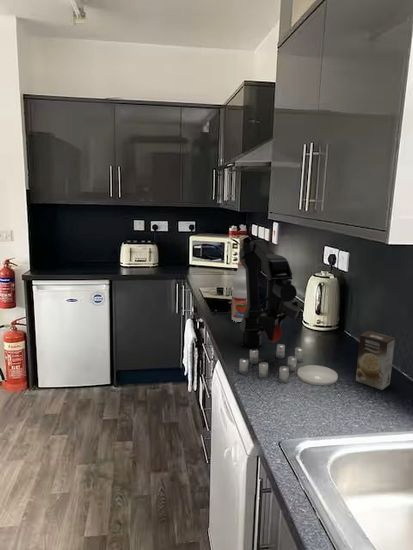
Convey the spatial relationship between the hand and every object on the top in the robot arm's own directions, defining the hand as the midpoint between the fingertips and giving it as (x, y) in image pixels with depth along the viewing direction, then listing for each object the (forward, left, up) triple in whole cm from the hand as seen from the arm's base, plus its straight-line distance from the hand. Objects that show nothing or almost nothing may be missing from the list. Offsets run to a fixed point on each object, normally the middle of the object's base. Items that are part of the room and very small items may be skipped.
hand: (273, 337), depth 146 cm
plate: (+16, -1, -11) cm, 19 cm away
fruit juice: (-30, +44, -11) cm, 54 cm away
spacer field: (0, 0, -11) cm, 11 cm away
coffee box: (+33, +3, -11) cm, 35 cm away
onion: (0, 0, -2) cm, 2 cm away
